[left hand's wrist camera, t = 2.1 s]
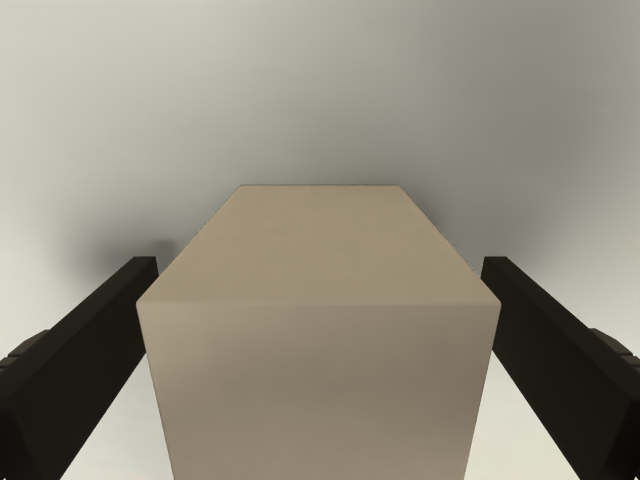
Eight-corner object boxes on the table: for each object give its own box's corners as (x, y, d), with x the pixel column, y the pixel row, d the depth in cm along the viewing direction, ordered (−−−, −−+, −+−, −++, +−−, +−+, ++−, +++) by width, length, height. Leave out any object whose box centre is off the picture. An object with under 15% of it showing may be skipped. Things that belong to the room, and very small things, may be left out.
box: (239, 184, 14) (133, 302, 6) (399, 184, 14) (504, 302, 6) (268, 522, 21) (237, 771, 14) (371, 522, 21) (401, 771, 14)
